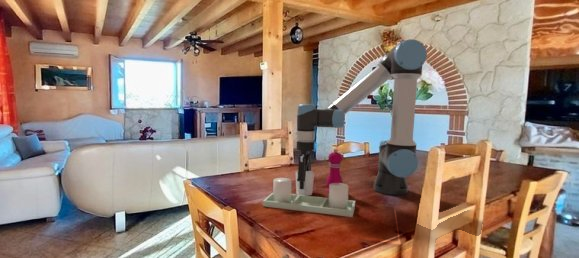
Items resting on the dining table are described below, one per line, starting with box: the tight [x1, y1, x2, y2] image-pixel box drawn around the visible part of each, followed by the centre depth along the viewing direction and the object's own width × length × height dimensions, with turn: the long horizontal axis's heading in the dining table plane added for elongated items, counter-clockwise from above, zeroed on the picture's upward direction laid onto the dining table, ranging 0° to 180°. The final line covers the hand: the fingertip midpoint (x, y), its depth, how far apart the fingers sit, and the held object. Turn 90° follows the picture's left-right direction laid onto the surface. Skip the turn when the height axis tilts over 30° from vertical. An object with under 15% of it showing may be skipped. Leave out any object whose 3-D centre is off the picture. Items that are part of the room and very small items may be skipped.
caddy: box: [262, 192, 356, 218], centre depth 118 cm, size 33×12×3 cm, turn 74°
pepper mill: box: [325, 148, 344, 194], centre depth 136 cm, size 7×7×20 cm
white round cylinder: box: [328, 183, 349, 210], centre depth 115 cm, size 7×7×9 cm
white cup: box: [295, 170, 315, 196], centre depth 134 cm, size 8×8×10 cm
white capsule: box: [272, 177, 293, 203], centre depth 121 cm, size 7×7×9 cm
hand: (304, 193), depth 134 cm, fingers closed on white cup, 8 cm apart
